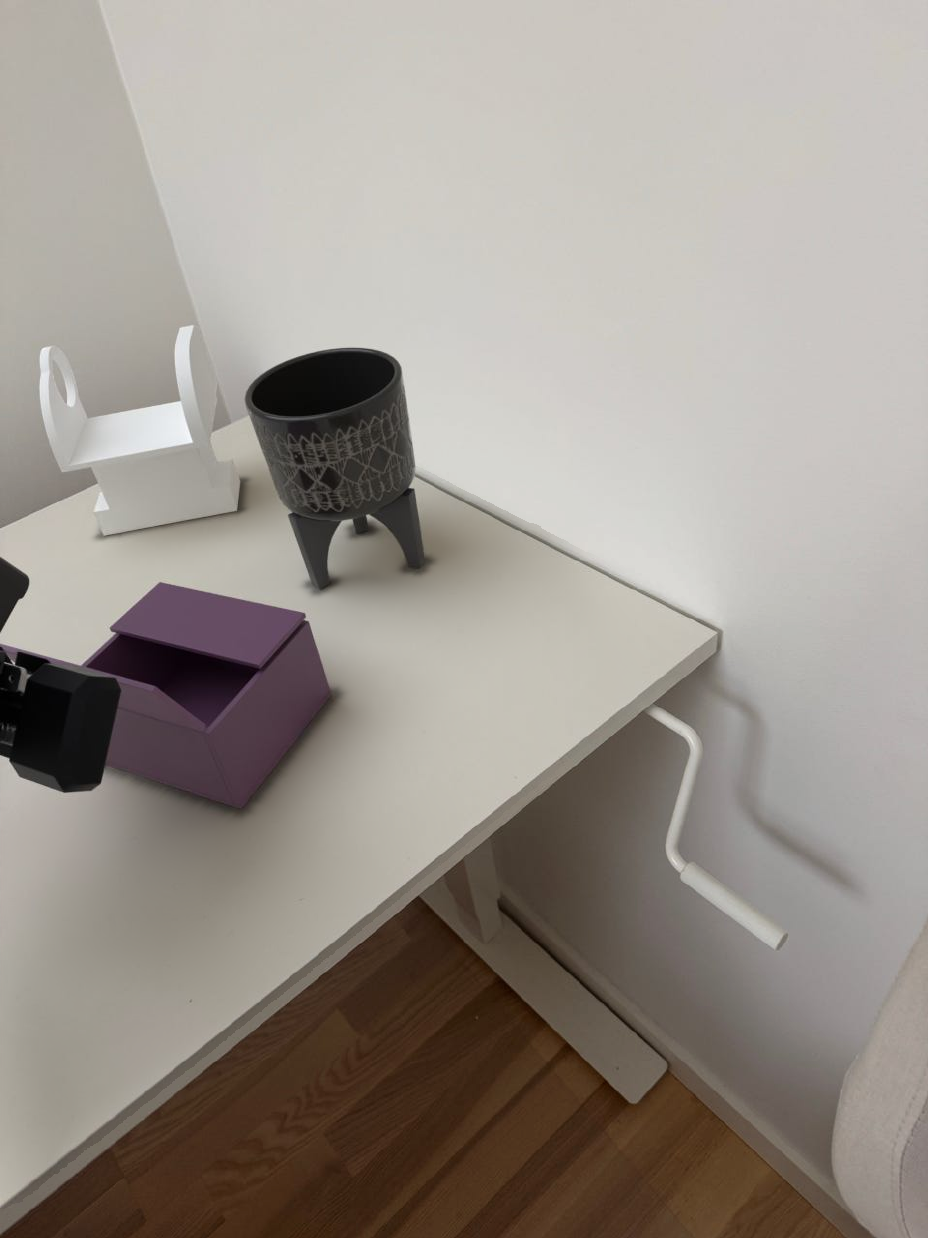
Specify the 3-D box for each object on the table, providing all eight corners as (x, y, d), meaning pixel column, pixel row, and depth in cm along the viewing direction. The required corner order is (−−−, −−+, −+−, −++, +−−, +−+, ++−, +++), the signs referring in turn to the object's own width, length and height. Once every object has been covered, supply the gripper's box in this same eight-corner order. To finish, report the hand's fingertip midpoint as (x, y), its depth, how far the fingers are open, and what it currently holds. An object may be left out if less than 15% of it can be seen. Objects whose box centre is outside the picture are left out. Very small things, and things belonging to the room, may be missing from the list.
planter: (295, 535, 93) (244, 364, 82) (425, 508, 94) (392, 335, 83) (299, 614, 83) (242, 432, 72) (445, 583, 84) (410, 398, 72)
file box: (241, 809, 66) (204, 726, 61) (94, 761, 72) (49, 681, 67) (331, 695, 74) (306, 612, 69) (192, 659, 80) (159, 581, 75)
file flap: (206, 724, 61) (203, 730, 61) (52, 680, 67) (49, 685, 67) (155, 686, 57) (152, 692, 56) (-6, 641, 62) (-9, 647, 62)
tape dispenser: (97, 550, 96) (21, 384, 85) (118, 486, 106) (52, 330, 95) (236, 524, 96) (178, 355, 85) (243, 462, 106) (192, 304, 95)
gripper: (15, 564, 43) (230, 605, 58) (-227, 510, 51) (15, 557, 65) (-39, 804, 43) (190, 786, 57) (-273, 713, 51) (-20, 717, 65)
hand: (89, 702), depth 61 cm, fingers closed
